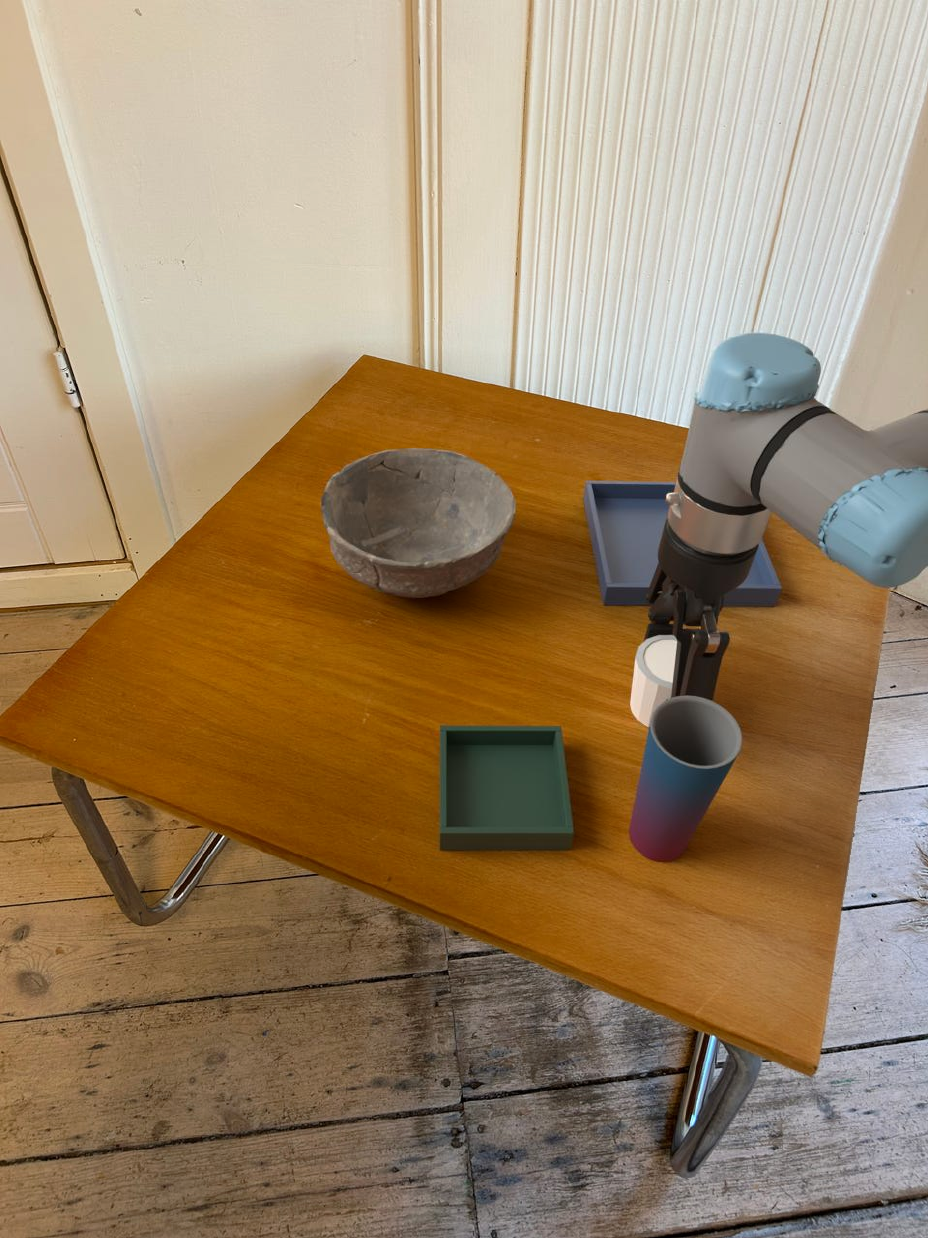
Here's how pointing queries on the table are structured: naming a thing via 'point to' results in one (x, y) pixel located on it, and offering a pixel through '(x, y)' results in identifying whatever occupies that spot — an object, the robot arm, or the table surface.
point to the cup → (681, 773)
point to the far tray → (650, 545)
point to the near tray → (504, 789)
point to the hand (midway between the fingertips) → (658, 706)
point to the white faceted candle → (652, 676)
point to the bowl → (416, 520)
